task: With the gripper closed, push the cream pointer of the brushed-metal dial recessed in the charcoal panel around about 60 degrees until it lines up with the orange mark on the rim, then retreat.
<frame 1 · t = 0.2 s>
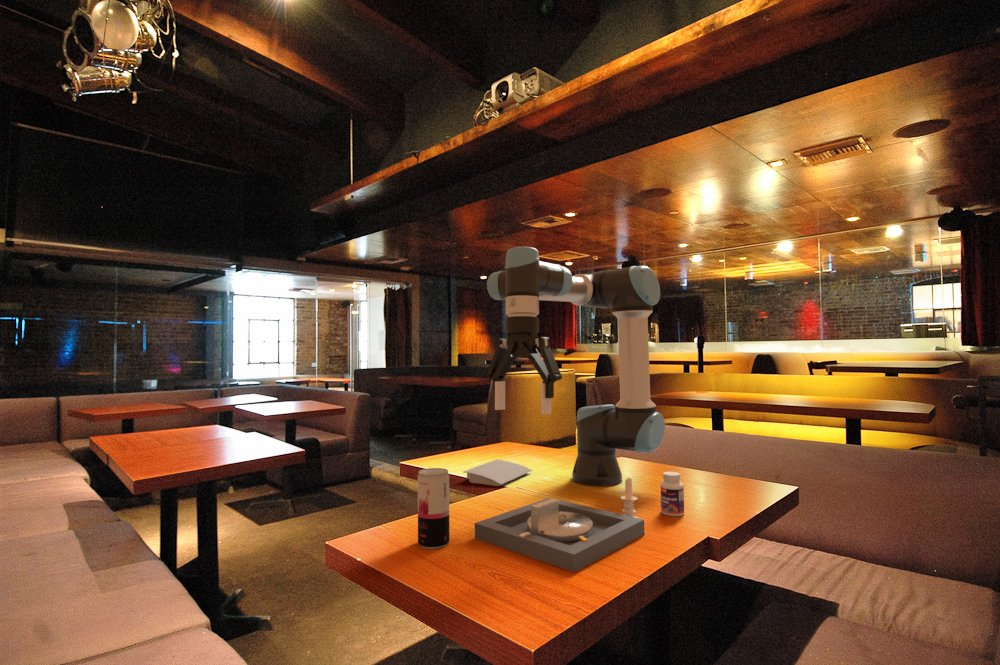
hand: (522, 411, 114), 27 cm above the table, fingers open, 13 cm apart
beverage can: (433, 544, 107), on the table
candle: (629, 522, 120), on the table
dial: (557, 515, 110), point 5 cm above the table, hinge at 0.0°
panel: (560, 536, 111), on the table
pill bottle: (672, 514, 126), on the table
book: (496, 480, 164), on the table
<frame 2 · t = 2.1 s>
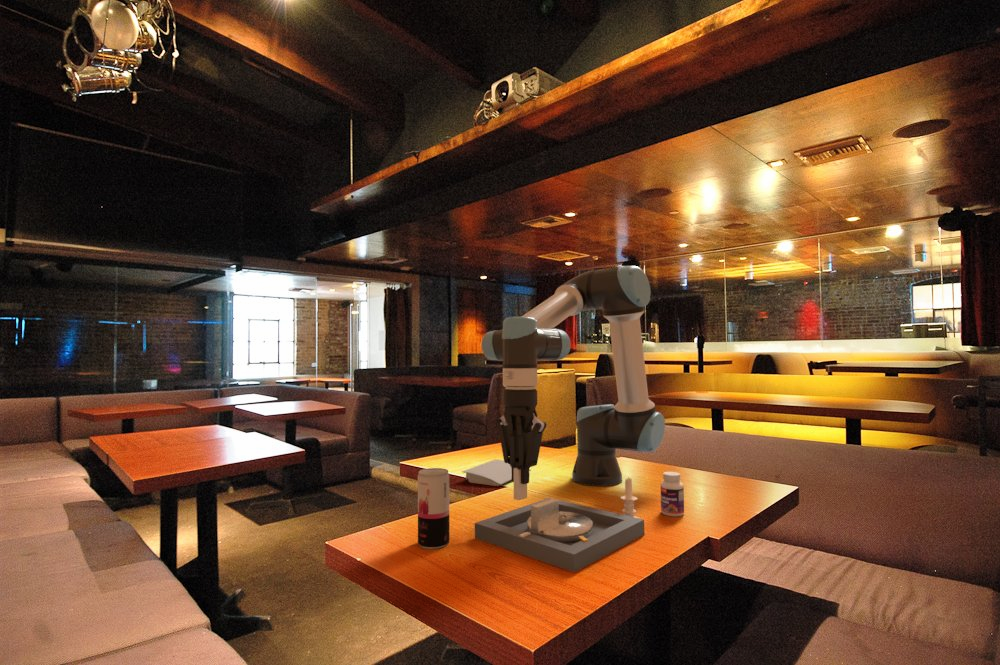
hand: (520, 498, 110), 8 cm above the table, fingers closed
nothing on the table moved.
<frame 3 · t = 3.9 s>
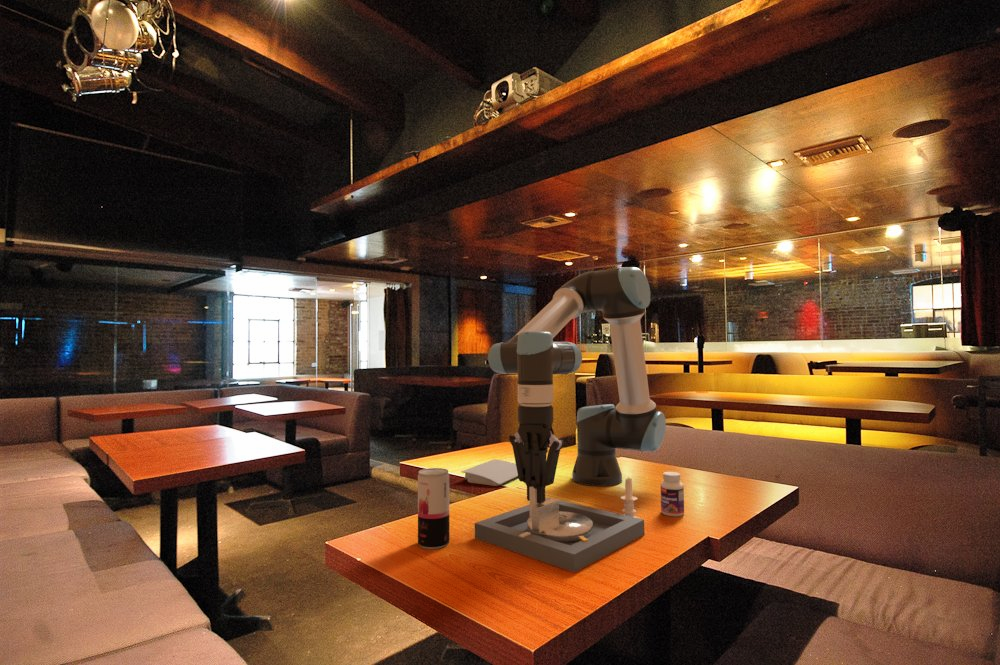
hand: (536, 517, 107), 5 cm above the table, fingers closed
dial: (557, 515, 110), point 5 cm above the table, hinge at 2.1°, touching gripper
everything else where it was.
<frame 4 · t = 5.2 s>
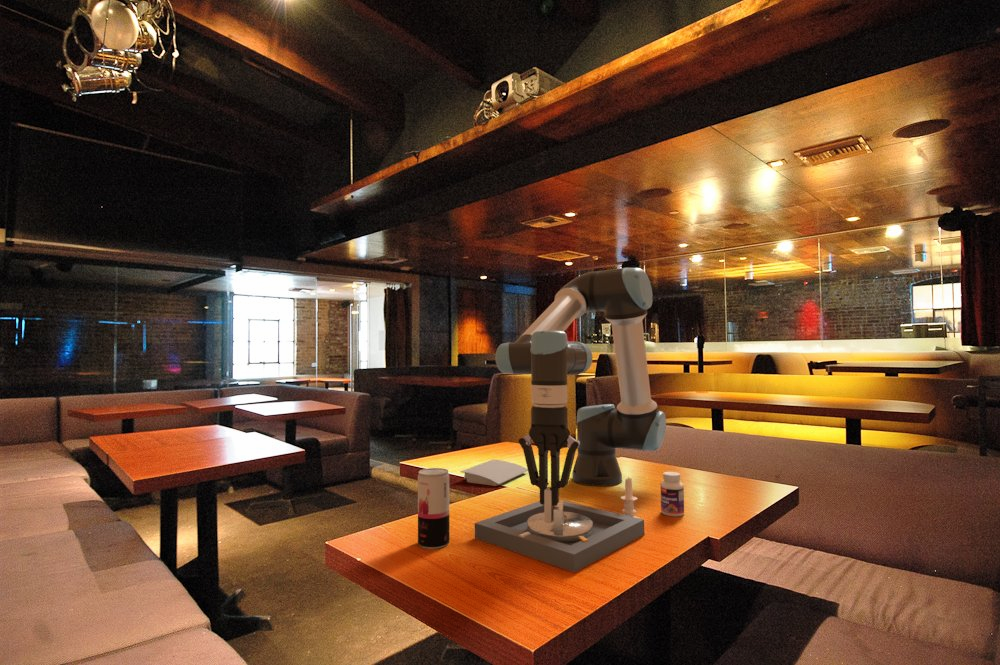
hand: (549, 520, 105), 5 cm above the table, fingers closed
dial: (559, 515, 110), point 5 cm above the table, hinge at 35.1°, touching gripper
everything else where it was.
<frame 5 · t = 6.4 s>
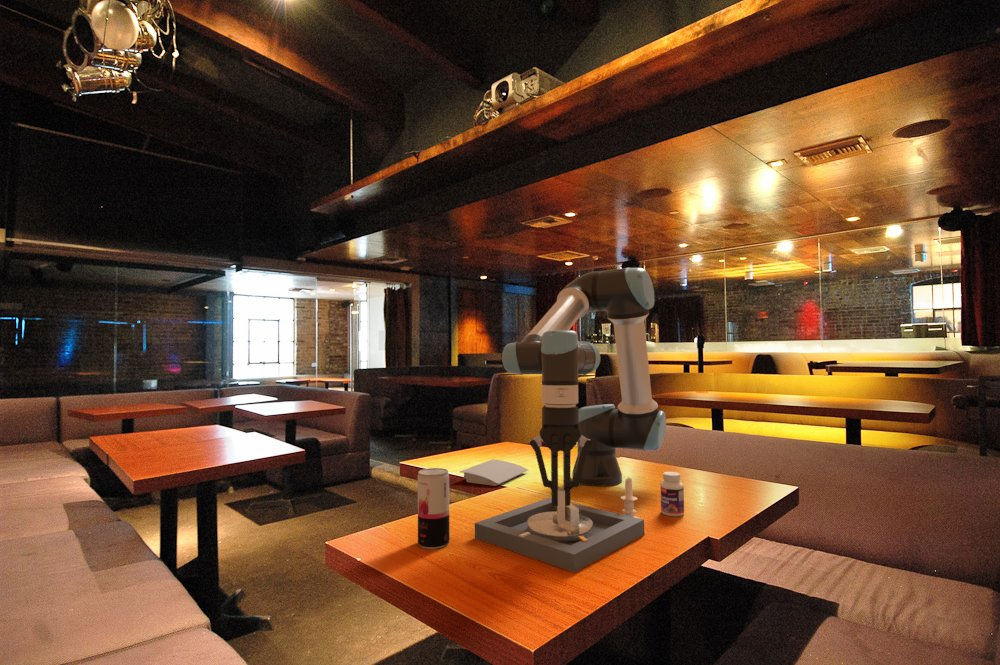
hand: (561, 521, 105), 5 cm above the table, fingers closed
dial: (560, 515, 110), point 5 cm above the table, hinge at 58.0°, touching gripper
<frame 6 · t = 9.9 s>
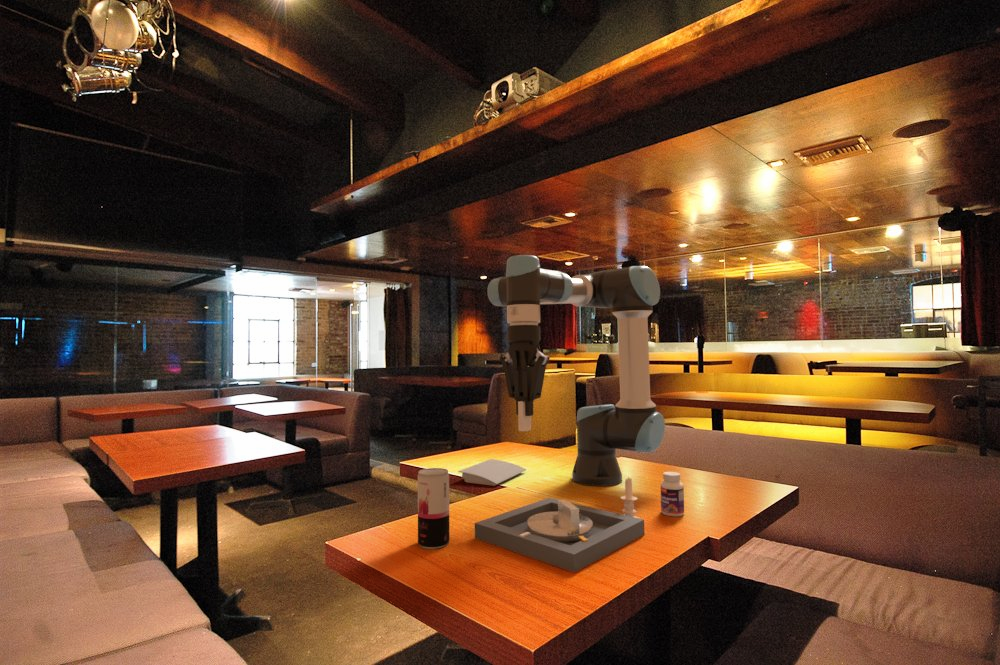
hand: (524, 430, 114), 22 cm above the table, fingers closed
dial: (560, 515, 110), point 5 cm above the table, hinge at 58.2°
at the end: dial at +58° (first picture: +0°); dial touching nothing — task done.
